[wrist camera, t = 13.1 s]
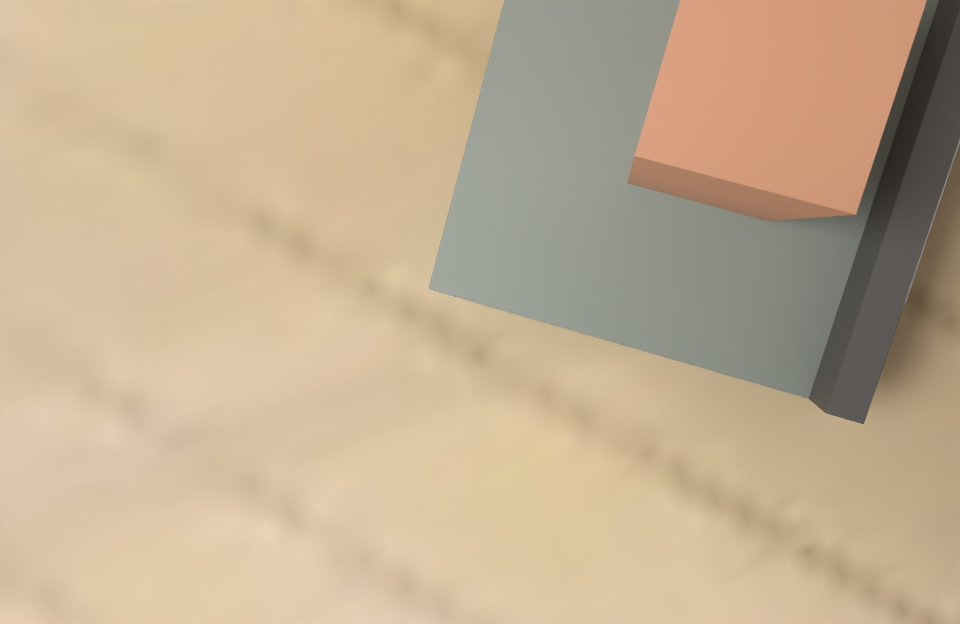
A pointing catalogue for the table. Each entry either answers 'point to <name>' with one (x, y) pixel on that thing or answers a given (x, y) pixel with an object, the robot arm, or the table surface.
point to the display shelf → (685, 211)
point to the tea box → (774, 103)
